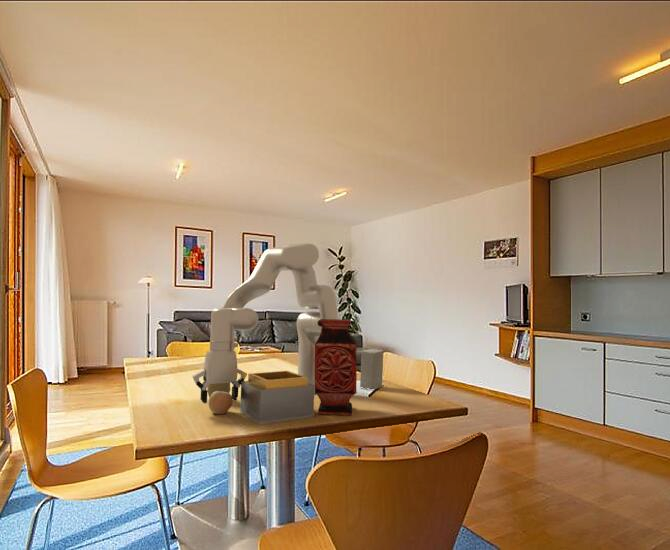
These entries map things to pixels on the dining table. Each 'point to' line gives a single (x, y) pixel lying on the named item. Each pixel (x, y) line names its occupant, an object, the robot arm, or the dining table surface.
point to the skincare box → (371, 368)
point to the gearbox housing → (276, 397)
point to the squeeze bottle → (215, 387)
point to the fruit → (220, 402)
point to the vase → (335, 367)
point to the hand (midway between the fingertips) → (219, 401)
